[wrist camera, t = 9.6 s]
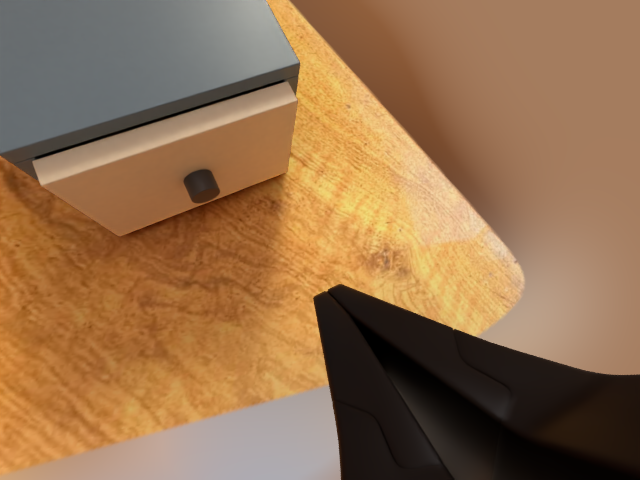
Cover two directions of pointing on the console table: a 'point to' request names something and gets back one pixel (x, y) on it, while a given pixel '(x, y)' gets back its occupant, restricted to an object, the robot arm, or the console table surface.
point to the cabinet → (126, 65)
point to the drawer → (175, 160)
